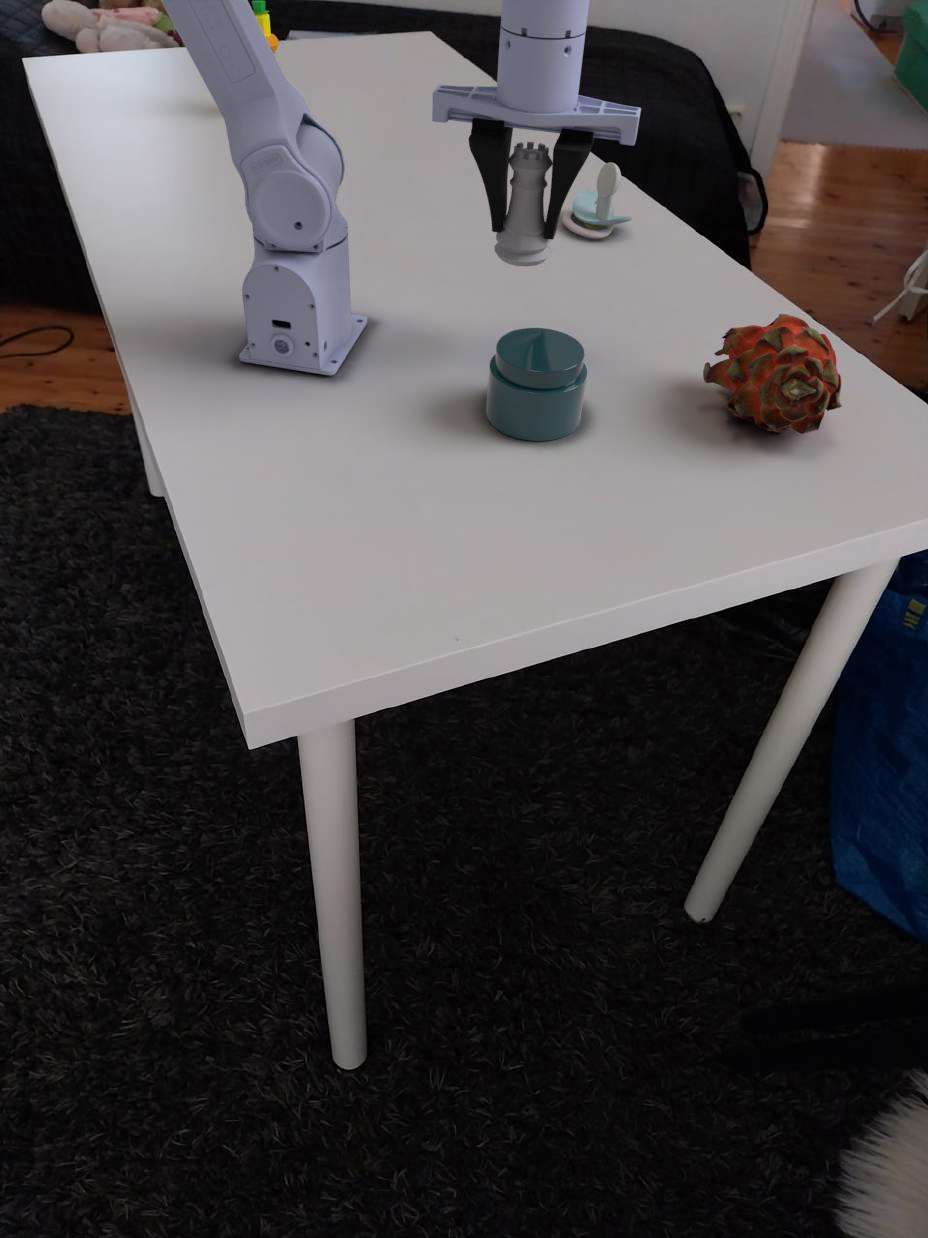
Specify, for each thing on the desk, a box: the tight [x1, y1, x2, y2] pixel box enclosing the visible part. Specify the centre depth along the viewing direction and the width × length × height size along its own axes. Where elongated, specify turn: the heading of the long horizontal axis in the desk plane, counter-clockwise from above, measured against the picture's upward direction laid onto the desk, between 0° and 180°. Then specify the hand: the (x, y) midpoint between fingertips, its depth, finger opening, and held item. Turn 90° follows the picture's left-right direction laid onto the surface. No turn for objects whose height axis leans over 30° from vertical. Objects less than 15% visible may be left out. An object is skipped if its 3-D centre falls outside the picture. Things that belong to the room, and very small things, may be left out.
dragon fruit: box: [702, 313, 843, 435], centre depth 72 cm, size 8×8×12 cm
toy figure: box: [251, 0, 279, 55], centre depth 113 cm, size 7×4×12 cm, turn 27°
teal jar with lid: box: [485, 327, 588, 442], centre depth 71 cm, size 7×7×6 cm
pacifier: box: [561, 161, 633, 239], centre depth 96 cm, size 7×6×6 cm
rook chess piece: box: [494, 141, 553, 268], centre depth 72 cm, size 4×4×8 cm
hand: (524, 230), depth 74 cm, fingers closed on rook chess piece, 3 cm apart
